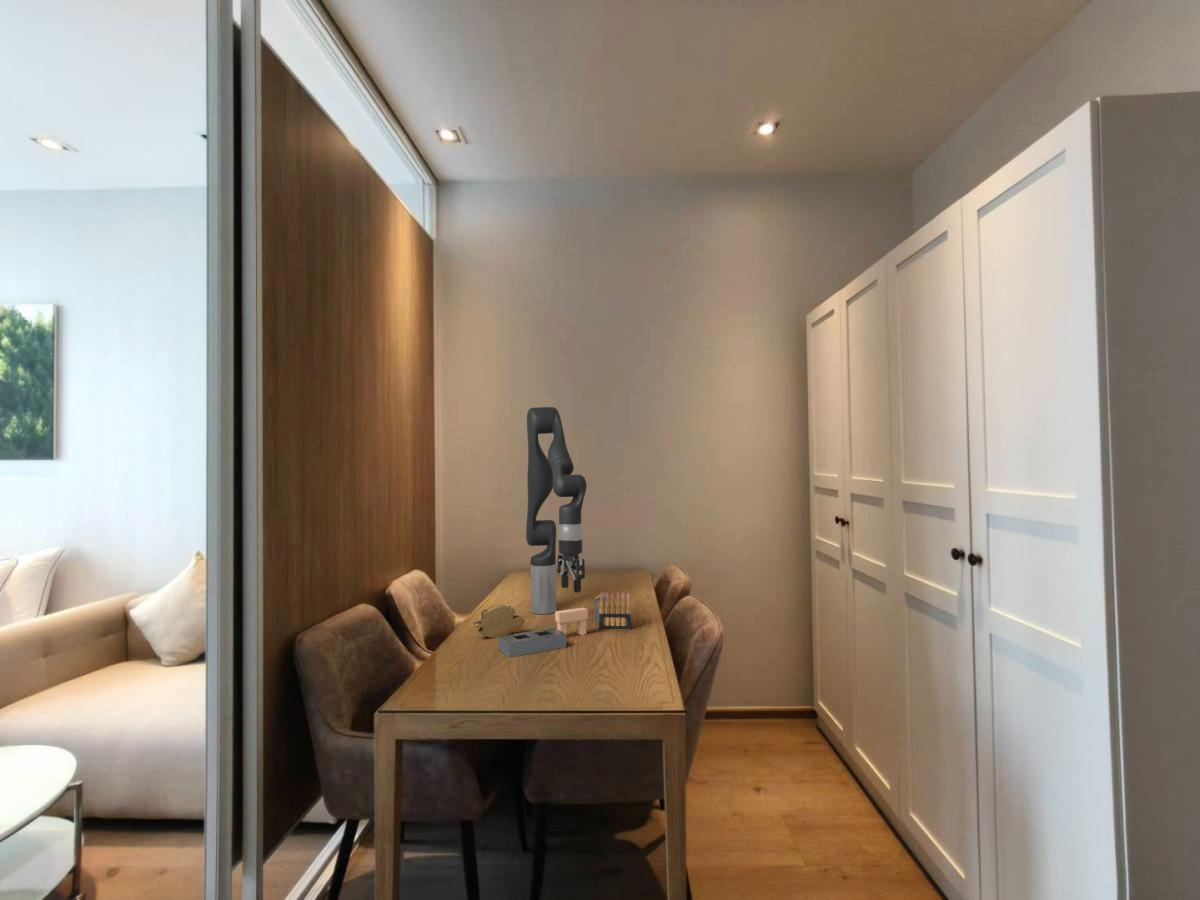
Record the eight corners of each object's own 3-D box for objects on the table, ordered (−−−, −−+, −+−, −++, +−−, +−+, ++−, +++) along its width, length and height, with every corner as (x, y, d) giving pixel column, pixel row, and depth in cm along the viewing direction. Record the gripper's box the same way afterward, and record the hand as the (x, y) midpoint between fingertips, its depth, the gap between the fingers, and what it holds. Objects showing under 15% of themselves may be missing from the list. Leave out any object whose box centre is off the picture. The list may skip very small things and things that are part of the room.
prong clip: (555, 637, 200) (555, 611, 200) (583, 632, 205) (583, 607, 205) (559, 639, 197) (559, 613, 197) (588, 634, 202) (587, 609, 202)
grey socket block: (498, 650, 187) (498, 636, 187) (554, 640, 196) (554, 627, 196) (509, 657, 180) (508, 643, 180) (566, 647, 189) (566, 633, 189)
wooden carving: (519, 631, 207) (519, 600, 208) (525, 634, 204) (525, 602, 204) (471, 639, 199) (471, 607, 199) (477, 642, 195) (476, 609, 195)
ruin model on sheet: (603, 622, 219) (602, 593, 219) (594, 622, 219) (594, 593, 219) (609, 614, 230) (609, 587, 230) (601, 614, 230) (600, 587, 231)
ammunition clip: (632, 628, 209) (631, 591, 209) (631, 629, 207) (631, 592, 207) (599, 627, 210) (599, 591, 210) (598, 629, 208) (598, 592, 209)
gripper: (549, 536, 206) (550, 587, 205) (570, 541, 193) (570, 595, 193) (570, 535, 209) (571, 585, 209) (591, 539, 197) (592, 592, 197)
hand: (571, 589), depth 201 cm, fingers open, 8 cm apart
